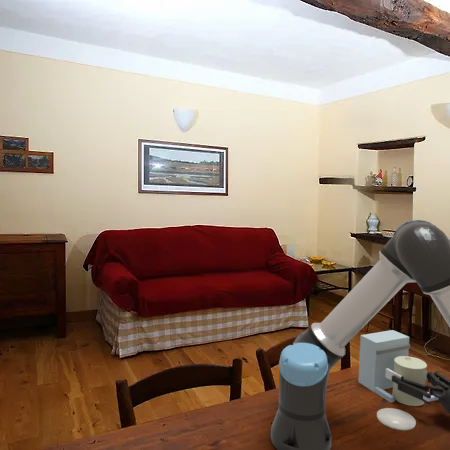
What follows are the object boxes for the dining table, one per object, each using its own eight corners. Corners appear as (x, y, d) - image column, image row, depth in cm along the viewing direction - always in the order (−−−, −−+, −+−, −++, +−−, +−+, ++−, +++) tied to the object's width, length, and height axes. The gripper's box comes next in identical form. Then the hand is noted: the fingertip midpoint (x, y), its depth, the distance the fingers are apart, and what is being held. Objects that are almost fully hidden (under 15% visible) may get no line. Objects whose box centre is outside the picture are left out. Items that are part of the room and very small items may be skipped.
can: (418, 391, 130) (420, 355, 129) (429, 407, 121) (432, 368, 120) (388, 389, 131) (390, 353, 130) (397, 405, 122) (399, 366, 121)
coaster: (391, 432, 108) (391, 430, 108) (369, 412, 118) (369, 410, 118) (424, 428, 111) (424, 425, 111) (400, 408, 120) (400, 406, 120)
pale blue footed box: (424, 393, 129) (427, 344, 127) (390, 402, 123) (393, 351, 122) (390, 374, 142) (392, 329, 140) (358, 382, 136) (360, 335, 134)
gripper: (435, 427, 105) (370, 387, 125) (490, 410, 114) (421, 375, 134) (437, 399, 104) (372, 364, 125) (492, 384, 113) (423, 353, 133)
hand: (397, 370), depth 129 cm, fingers closed on can, 9 cm apart
